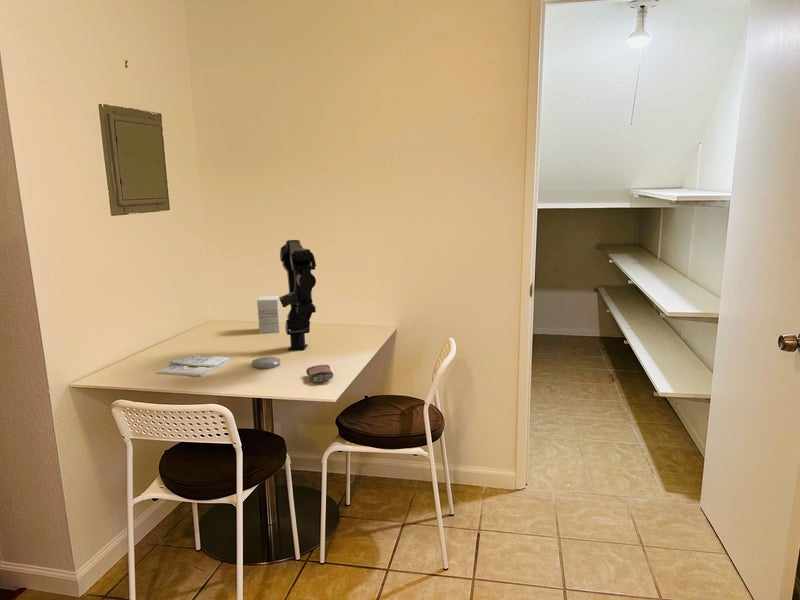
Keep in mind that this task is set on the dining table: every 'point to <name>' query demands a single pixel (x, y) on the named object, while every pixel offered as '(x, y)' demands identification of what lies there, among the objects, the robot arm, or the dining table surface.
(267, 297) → the supplement box
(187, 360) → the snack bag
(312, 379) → the lighter
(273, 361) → the grey smooth stone
